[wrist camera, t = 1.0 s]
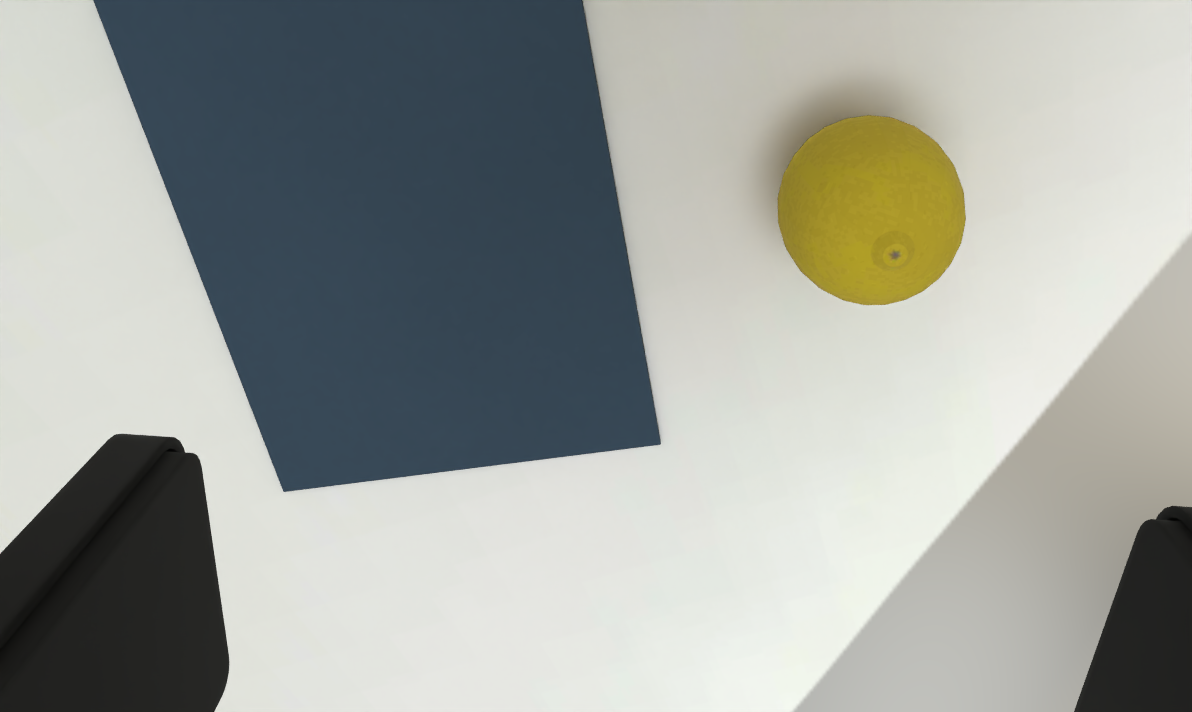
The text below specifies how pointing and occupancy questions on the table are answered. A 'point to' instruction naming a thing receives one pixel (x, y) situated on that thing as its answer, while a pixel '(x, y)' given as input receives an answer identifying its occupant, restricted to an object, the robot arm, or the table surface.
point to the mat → (398, 225)
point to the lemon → (871, 210)
